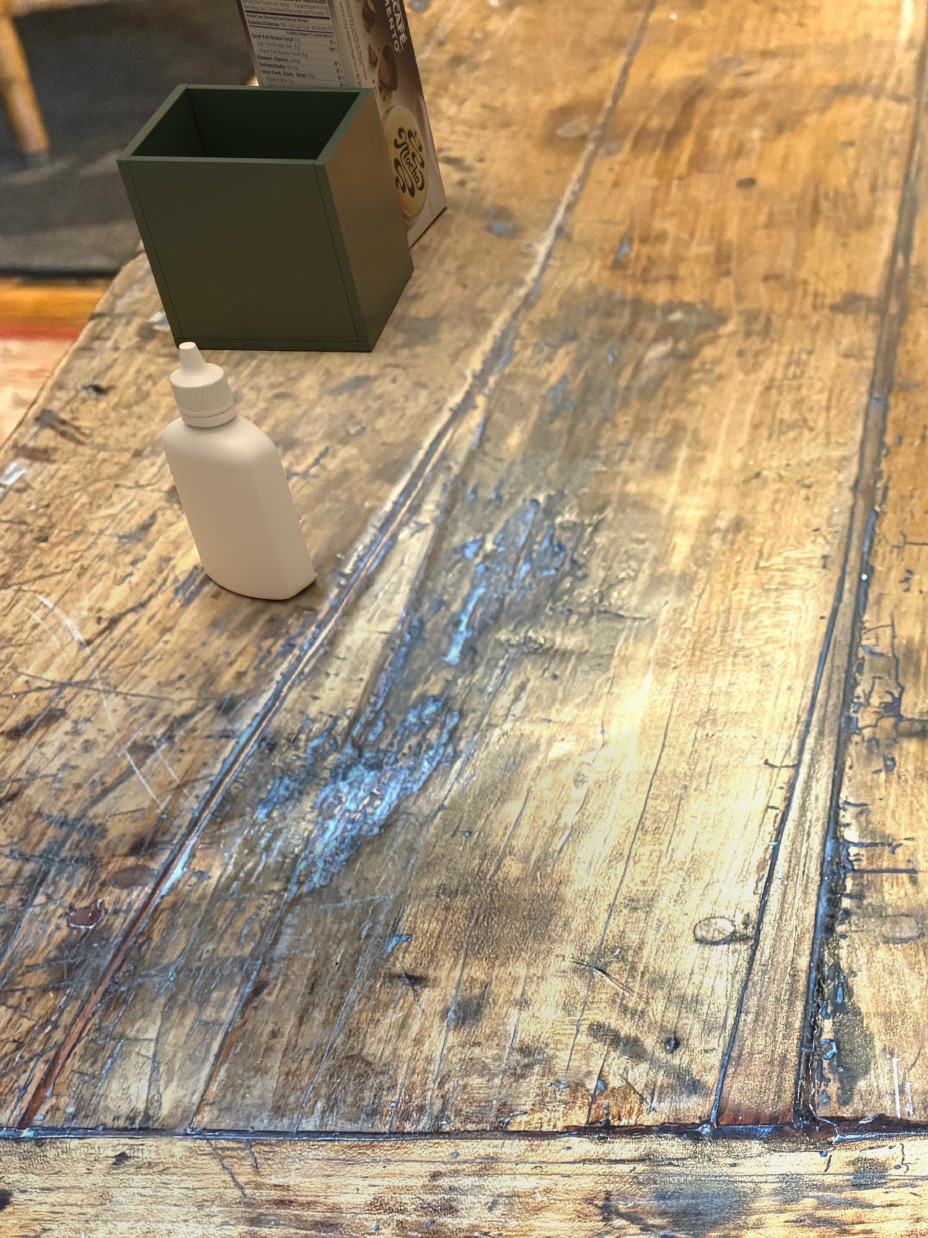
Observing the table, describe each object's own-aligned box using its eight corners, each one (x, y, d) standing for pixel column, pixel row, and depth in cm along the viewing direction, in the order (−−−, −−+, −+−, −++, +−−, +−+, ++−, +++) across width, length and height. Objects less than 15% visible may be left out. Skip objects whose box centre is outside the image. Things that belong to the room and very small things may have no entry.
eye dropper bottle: (284, 541, 101) (214, 310, 92) (325, 591, 97) (257, 357, 89) (198, 566, 99) (118, 333, 90) (237, 618, 96) (158, 382, 87)
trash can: (176, 348, 115) (115, 159, 107) (231, 265, 122) (178, 83, 115) (371, 352, 115) (324, 163, 107) (414, 268, 123) (373, 87, 115)
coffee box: (356, 198, 130) (290, -78, 118) (451, 206, 129) (394, -70, 118) (298, 256, 123) (222, -28, 112) (397, 265, 123) (331, -20, 111)
